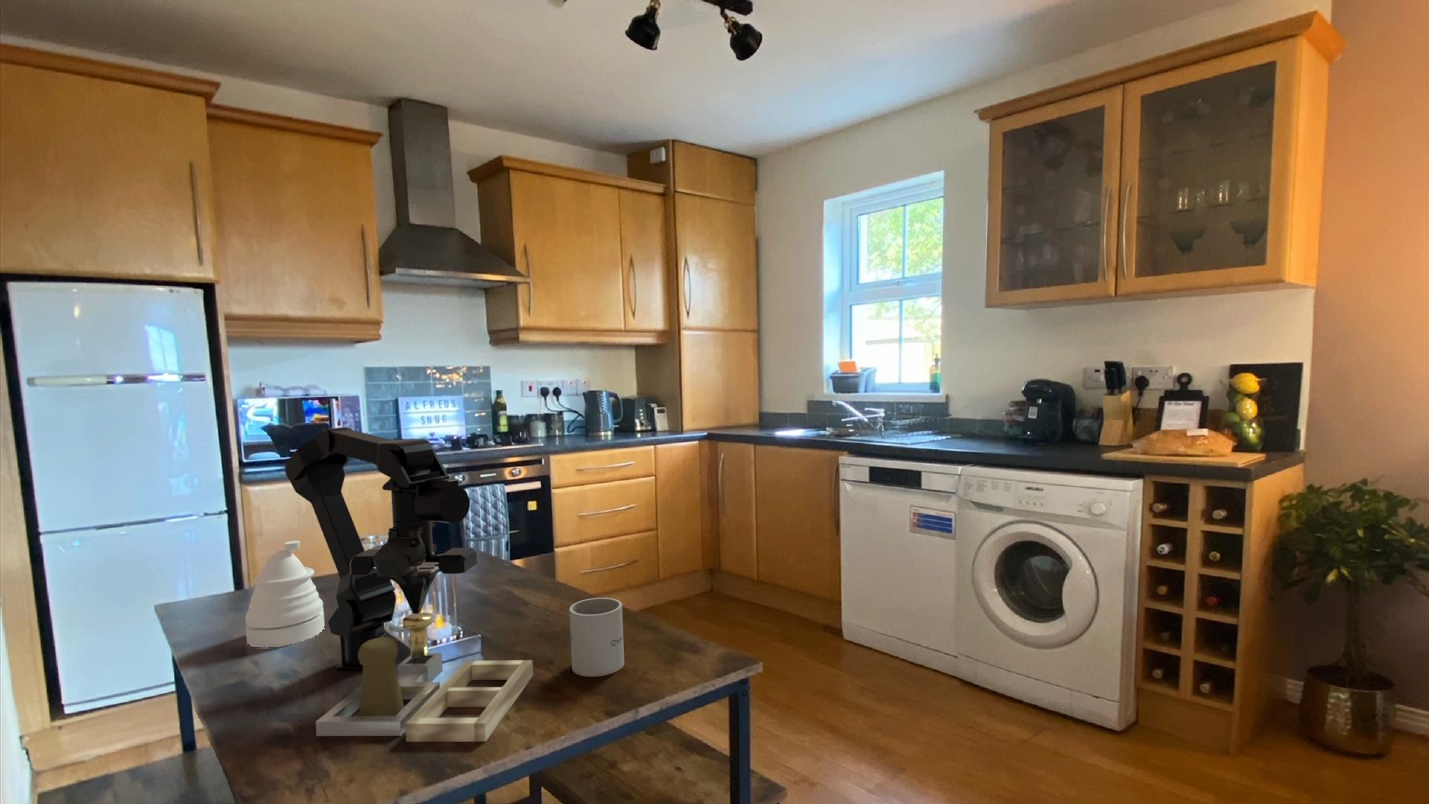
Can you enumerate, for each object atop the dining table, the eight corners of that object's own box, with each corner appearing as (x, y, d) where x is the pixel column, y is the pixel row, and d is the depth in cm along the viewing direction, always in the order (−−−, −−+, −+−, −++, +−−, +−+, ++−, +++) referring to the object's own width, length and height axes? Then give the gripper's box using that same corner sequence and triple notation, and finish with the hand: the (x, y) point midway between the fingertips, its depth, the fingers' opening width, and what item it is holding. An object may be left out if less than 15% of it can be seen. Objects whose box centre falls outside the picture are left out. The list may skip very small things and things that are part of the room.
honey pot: (330, 619, 143) (325, 532, 142) (316, 642, 131) (310, 547, 130) (258, 628, 139) (252, 539, 138) (237, 653, 127) (230, 555, 126)
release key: (399, 660, 112) (397, 622, 111) (413, 649, 116) (411, 612, 116) (426, 660, 111) (424, 622, 111) (438, 649, 116) (436, 612, 115)
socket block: (316, 735, 96) (315, 714, 96) (393, 671, 117) (392, 653, 116) (400, 735, 96) (399, 714, 95) (463, 670, 116) (462, 652, 116)
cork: (386, 726, 98) (382, 649, 98) (349, 723, 99) (344, 647, 99) (413, 705, 104) (409, 633, 104) (377, 703, 105) (373, 631, 105)
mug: (606, 679, 111) (604, 618, 110) (561, 672, 114) (559, 612, 114) (643, 649, 122) (641, 593, 122) (601, 643, 125) (599, 589, 125)
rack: (406, 741, 94) (405, 723, 94) (467, 675, 114) (466, 660, 114) (485, 741, 93) (485, 723, 93) (533, 675, 113) (532, 660, 113)
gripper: (325, 531, 105) (331, 632, 106) (446, 529, 104) (451, 631, 105) (366, 515, 116) (371, 607, 117) (476, 513, 115) (480, 606, 116)
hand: (417, 613), depth 113 cm, fingers closed
